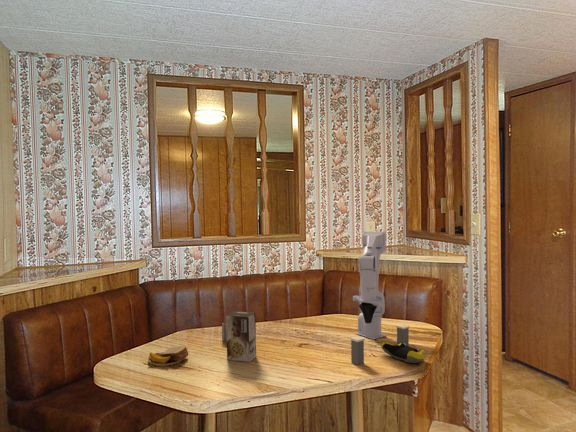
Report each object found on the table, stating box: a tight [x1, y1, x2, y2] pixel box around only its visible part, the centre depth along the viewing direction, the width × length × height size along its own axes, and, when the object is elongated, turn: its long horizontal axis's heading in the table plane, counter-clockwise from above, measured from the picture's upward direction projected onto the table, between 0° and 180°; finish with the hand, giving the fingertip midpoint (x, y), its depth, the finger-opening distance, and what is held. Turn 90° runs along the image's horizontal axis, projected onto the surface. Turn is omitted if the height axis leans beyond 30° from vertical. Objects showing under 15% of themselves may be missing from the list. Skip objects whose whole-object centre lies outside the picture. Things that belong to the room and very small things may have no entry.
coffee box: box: [225, 310, 257, 363], centre depth 155 cm, size 9×6×16 cm
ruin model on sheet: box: [221, 322, 227, 343], centre depth 177 cm, size 11×3×10 cm, turn 115°
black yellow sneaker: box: [380, 341, 425, 364], centre depth 152 cm, size 15×6×10 cm
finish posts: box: [350, 323, 410, 366], centre depth 156 cm, size 3×27×9 cm, turn 126°
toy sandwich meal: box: [147, 345, 189, 367], centre depth 154 cm, size 12×14×5 cm
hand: (368, 322), depth 165 cm, fingers closed
